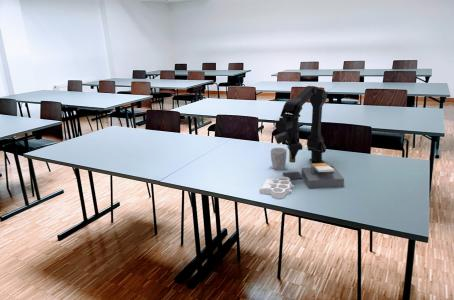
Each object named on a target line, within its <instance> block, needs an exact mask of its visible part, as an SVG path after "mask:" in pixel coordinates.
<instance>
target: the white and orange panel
mask: <svg viewBox="0 0 454 300" xmlns="http://www.w3.org/2000/svg"><path fill="white" fill-rule="evenodd" d="M311 165H313V166H314V167H315V170H317V171H318V172H331V171H334V169H333V168H332V167H330V164H327V163H325V162H324V163H311V164H310V166H311Z"/></svg>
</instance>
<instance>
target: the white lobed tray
mask: <svg viewBox="0 0 454 300" xmlns="http://www.w3.org/2000/svg"><path fill="white" fill-rule="evenodd" d="M293 187H295V185H294V184H292V181H291V180H290V178H288V177H284V176H278V177H276V178H266V179H265V180H264V182H263V184H261V187H260V189H259V193H260V194H261V195H270V196H271V197H272V198H274V199H278V200H279V199H284V198H286V196H287V195H289V194H290V193H292V192H293V190H292V188H293Z"/></svg>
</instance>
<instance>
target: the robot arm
mask: <svg viewBox="0 0 454 300" xmlns="http://www.w3.org/2000/svg"><path fill="white" fill-rule="evenodd" d="M327 97H328V93H327V92H326V90H324V89H323V88H320V87H319V88H318V87H317V86H315V85H307V86H305V88H304V89H303V90H302V91H301V92H300V93H299V94H298V95H296V97H294V98H292V99H291V98H290V99H289V100H287V101H286V102H284V105H283V107H282V109H281V112H280V116H279V118H278V120H277V121H276V123H275V125H274V126H275V129H276V132H278V134H276V135H273V136H274V139H275V142H276V144H277V145H280V144H282V143H284V144H285V145H286V147H287V149H288V150H290V152H291V158H292V159H294V158H295V159H296V156H297V155H298V152H299V151H301V150H303V144H302V143H301V142H300V137H299V134H300V130H299V121H300V120H299V118H300V117H301V114H300V113H301V111H302V110H303V106H304V105H305V103H306V102H308V101H309V102H310V105H311V106H312V110H311V111H312V114H311V129H310V132H311V133H310V134H309V135H308V136H307V138H306V139H307V140H306V147H307V151H310V152H311V153H310V154H311V158H309V159H308V160H309V161H310V162H311V164H317V163H325V162H324V160H323V153H326V151H327V146H326V145H325V143H324V137H323V135H322V131H321V130H322V118H323V117H322V115H323V106H324V105H325V103H326V101H327Z"/></svg>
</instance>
